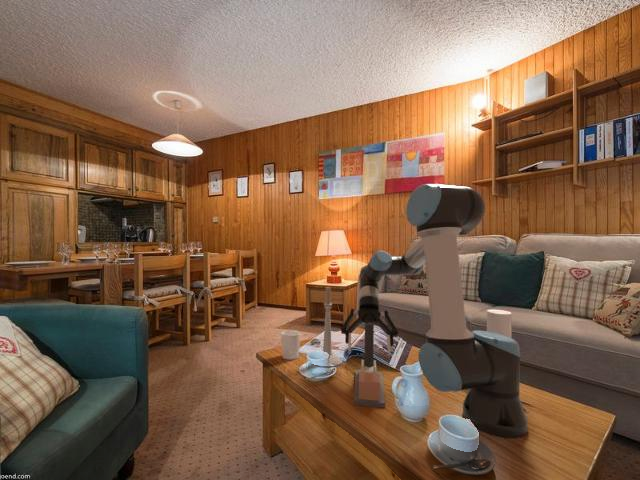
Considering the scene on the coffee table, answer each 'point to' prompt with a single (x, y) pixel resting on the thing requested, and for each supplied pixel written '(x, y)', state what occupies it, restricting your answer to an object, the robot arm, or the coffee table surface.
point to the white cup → (290, 344)
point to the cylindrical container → (499, 322)
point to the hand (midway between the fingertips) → (369, 353)
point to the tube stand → (369, 388)
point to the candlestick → (329, 331)
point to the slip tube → (369, 348)
